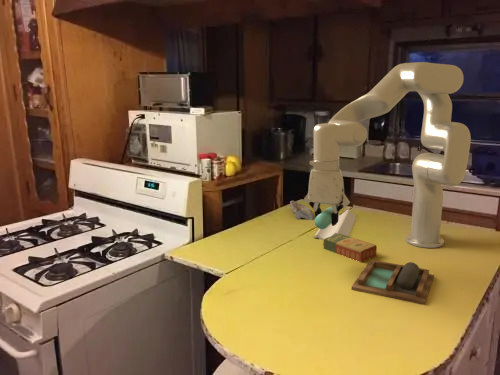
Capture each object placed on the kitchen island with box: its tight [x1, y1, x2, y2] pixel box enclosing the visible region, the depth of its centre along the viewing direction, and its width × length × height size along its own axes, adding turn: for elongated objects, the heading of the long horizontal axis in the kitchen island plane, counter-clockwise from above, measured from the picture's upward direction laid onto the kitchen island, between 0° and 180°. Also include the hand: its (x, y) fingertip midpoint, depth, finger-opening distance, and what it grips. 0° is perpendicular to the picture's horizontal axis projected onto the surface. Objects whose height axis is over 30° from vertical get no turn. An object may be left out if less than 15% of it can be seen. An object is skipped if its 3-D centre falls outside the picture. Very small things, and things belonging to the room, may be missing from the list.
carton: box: [323, 233, 378, 263], centre depth 146 cm, size 8×16×4 cm, turn 38°
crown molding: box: [313, 209, 358, 241], centre depth 172 cm, size 31×12×4 cm, turn 160°
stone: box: [289, 200, 315, 221], centre depth 189 cm, size 17×5×10 cm
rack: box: [351, 259, 435, 306], centre depth 123 cm, size 18×19×2 cm
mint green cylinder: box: [313, 206, 333, 230], centre depth 134 cm, size 9×4×4 cm, turn 151°
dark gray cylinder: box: [397, 261, 420, 290], centre depth 121 cm, size 9×4×4 cm, turn 151°
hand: (326, 222), depth 134 cm, fingers closed on mint green cylinder, 4 cm apart
